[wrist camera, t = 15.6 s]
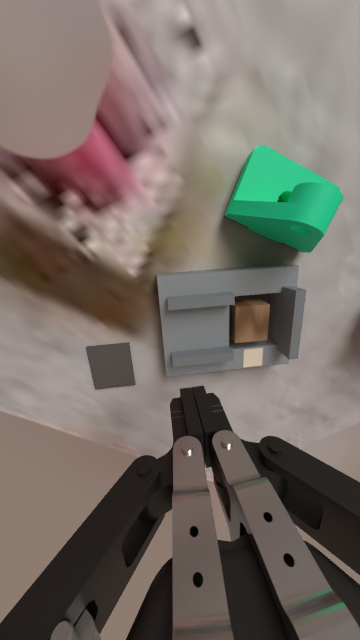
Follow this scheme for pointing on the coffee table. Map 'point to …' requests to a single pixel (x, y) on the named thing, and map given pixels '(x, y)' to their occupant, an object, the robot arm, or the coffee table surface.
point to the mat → (111, 365)
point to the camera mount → (298, 200)
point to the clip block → (248, 320)
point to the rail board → (227, 318)
